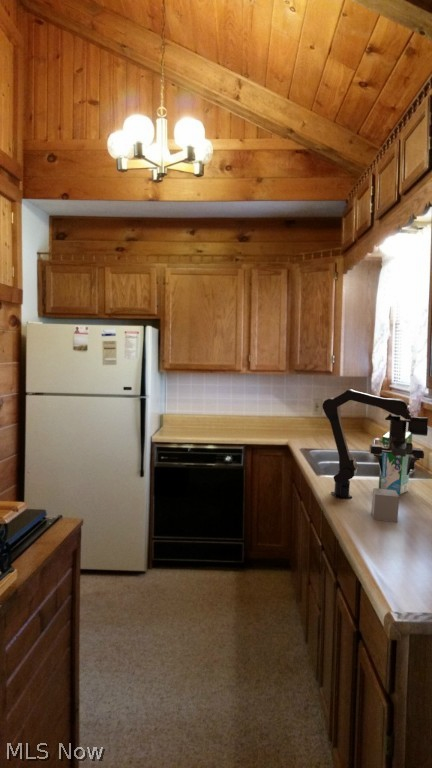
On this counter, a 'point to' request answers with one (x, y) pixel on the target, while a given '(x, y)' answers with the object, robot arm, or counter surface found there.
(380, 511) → the grey rectangular box
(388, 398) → the robot arm
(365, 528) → the counter surface
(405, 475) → the milk carton
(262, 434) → the counter surface
